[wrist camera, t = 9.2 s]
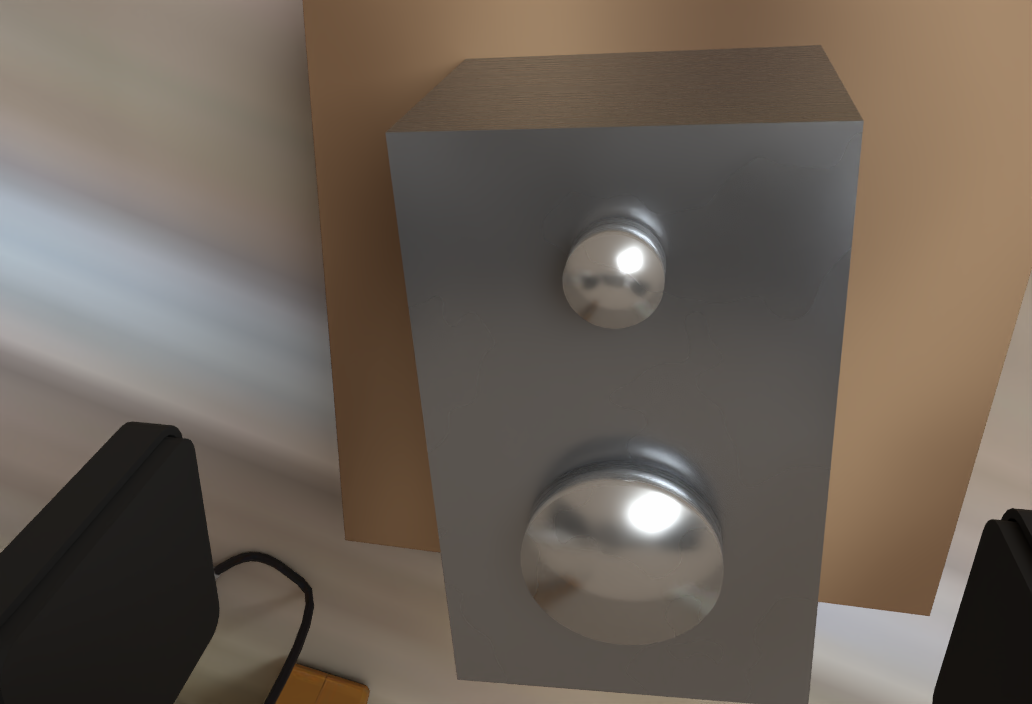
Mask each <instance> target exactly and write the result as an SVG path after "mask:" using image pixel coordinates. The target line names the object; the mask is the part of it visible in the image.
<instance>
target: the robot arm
mask: <svg viewBox="0 0 1032 704" xmlns="http://www.w3.org/2000/svg"><path fill="white" fill-rule="evenodd" d="M218 618H219V600H218V594H217V587H216V581H215V575H214V568H213V562H212V555H211V549H210V543H209V536H208V530H207V523H206V517H205V511H204V504H203V498H202V491H201V485H200V479H199V472H198V466H197V459H196V453H195V448H194V445H193V443H192V441H191V440H189V439H184V438H182V435H181V432H180V431H179V429H178V428H177V427H175V426H172V425H161V424H151V423H141V422H127V423H126V424H124V425H123V426H122V427H121V428H120V429H119V430H118V431H117V432H116V433H115V434H114V435H113V436H112V437H111V438H110V439H109V440H108V441H107V442H106V443H105V444H104V446H103V447H102V448H101V449H100V450H99V451H98V452H97V453H96V454H95V455H94V456H93V457H92V458H91V459H90V460H89V461H88V462H87V463H86V464H85V465H84V466H83V467H82V469H81V470H80V471H79V472H78V473H77V474H76V475H75V476H74V477H73V478H72V479H71V480H70V481H69V482H68V483H67V484H66V485H65V486H64V487H63V488H62V489H61V490H60V492H59V493H58V494H57V495H56V496H55V497H54V498H53V499H52V500H51V501H50V502H49V503H48V504H47V505H46V506H45V507H44V508H43V509H42V510H41V511H40V512H39V514H38V515H37V516H36V517H35V518H34V519H33V520H32V521H31V522H30V523H29V524H28V525H27V526H26V527H25V528H24V529H23V530H22V531H21V532H20V533H19V534H18V535H17V537H16V538H15V539H14V540H13V541H12V542H11V543H10V544H9V545H8V546H7V547H6V548H5V549H4V550H3V551H2V552H1V553H0V704H173V703H174V702H175V700H176V698H177V697H178V695H179V693H180V692H181V690H182V688H183V686H184V685H185V683H186V681H187V680H188V678H189V676H190V674H191V673H192V671H193V669H194V668H195V666H196V664H197V662H198V661H199V659H200V657H201V656H202V654H203V652H204V650H205V649H206V647H207V645H208V644H209V642H210V640H211V638H212V637H213V635H214V632H215V630H216V627H217V623H218ZM932 704H1032V510H1024V509H1014V508H1012V509H1009V510H1007V511H1006V513H1005V514H1004V515H1003V517H1002V519H1001V520H994V519H992V520H989V521H988V522H987V523H986V525H985V527H984V530H983V532H982V536H981V539H980V542H979V546H978V549H977V552H976V555H975V559H974V562H973V565H972V568H971V572H970V575H969V578H968V582H967V585H966V588H965V591H964V595H963V598H962V601H961V604H960V608H959V611H958V614H957V618H956V621H955V624H954V627H953V631H952V634H951V637H950V640H949V644H948V647H947V650H946V654H945V657H944V660H943V663H942V667H941V670H940V673H939V676H938V680H937V683H936V686H935V690H934V694H933V703H932Z"/></svg>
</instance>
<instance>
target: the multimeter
mask: <svg viewBox="0 0 1032 704" xmlns="http://www.w3.org/2000/svg"><path fill="white" fill-rule="evenodd" d="M249 561H258V562H261V563H265V564H267V565H269V566H271V567H274V568H275V569H277V570H278V571H280V572H281V573H283V574H284V575H285V576H287V577H288V578H289V579H291V580H292V581H293V582H294V583H296V584H297V585H298V586H299V587H300V588H301V590H302V591H303V592H304V593H305V602H306V605H305V610H304V615H303V620H302V624H301V626H300V629H299V632H298V634H297V637H296V640H295V642H294V645H293V647H292V649H291V651H290V653H289V656H288V658H287V660H286V662H285V664H284V666H283V668H282V670H281V672H280V674H279V676H278V678H277V680H276V682H275V684H274V686H273V688H272V689H271V691H270V693H269V695H268V697H267V699H266V701H265V703H264V704H367V701H368V697H369V693H370V690H369V689H368V687H367V686H366V685H362V684H359V683H356V682H353V681H350V680H347V679H343V678H340V677H337V676H334V675H331V674H328V673H325V672H321V671H318V670H315V669H312V668H309V667H306V666H302V665H299V664H296V661H297V659H298V656H299V654H300V652H301V650H302V647H303V645H304V642H305V639H306V636H307V633H308V631H309V628H310V625H311V620H312V615H313V609H314V601H313V594H312V588H311V587H310V586H309V584H308V583H307V582H306V581H305V579H304V578H303V577H301V576H300V575H299V574H297V573H296V572H294V571H293V570H292V569H290V568H289V567H288V566H286V565H285V564H284V563H282V562H281V561H279V560H278V559H276V558H273V557H271V556H269V555H266V554H262V553H256V552H249V553H243V554H240V555H237V556H234V557H232V558H230V559H228V560H226V561H225V562H223V563H221V564H220V565H218V566H216V567H213V568H214V575H215V580H216V579H217V578H218V577H219V576H220V574H221V573H223V572H225V571H226V570H228V569H230V568H231V567H233V566H235V565H238V564H240V563H243V562H249Z"/></svg>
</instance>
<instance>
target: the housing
mask: <svg viewBox="0 0 1032 704" xmlns="http://www.w3.org/2000/svg"><path fill="white" fill-rule="evenodd" d="M863 123H864V120H863V118H862V117H861V115H860V113H859V111H858V110H857V108H856V106H855V104H854V103H853V101H852V99H851V97H850V95H849V94H848V92H847V90H846V88H845V87H844V85H843V83H842V81H841V80H840V78H839V76H838V74H837V72H836V71H835V69H834V67H833V65H832V64H831V62H830V60H829V58H828V56H827V55H826V53H825V51H824V49H823V48H822V46H821V45H808V46H782V47H757V48H731V49H705V50H680V51H654V52H628V53H603V54H577V55H551V56H526V57H500V58H475V59H465V60H464V61H463V62H462V63H461V64H459V65H458V66H457V67H456V68H455V69H454V70H453V71H452V72H451V73H450V74H449V75H448V76H446V77H445V78H444V79H443V80H442V81H441V82H440V83H439V84H438V85H437V86H436V87H434V88H433V89H432V90H431V91H430V92H429V93H428V94H427V95H426V96H425V97H424V98H423V99H421V100H420V101H419V102H418V103H417V104H416V105H415V106H414V107H413V108H412V109H411V110H409V111H408V112H407V113H406V114H405V115H404V116H403V117H402V118H401V119H400V120H399V121H397V122H396V123H395V124H394V125H393V126H392V127H391V128H390V129H389V130H388V131H387V132H386V141H387V149H388V156H389V164H390V171H391V179H392V186H393V194H394V202H395V209H396V217H397V224H398V232H399V240H400V247H401V255H402V262H403V270H404V277H405V285H406V293H407V300H408V308H409V315H410V323H411V330H412V338H413V346H414V353H415V361H416V368H417V376H418V384H419V391H420V399H421V406H422V414H423V421H424V429H425V437H426V444H427V452H428V459H429V467H430V474H431V482H432V490H433V497H434V505H435V512H436V520H437V528H438V535H439V543H440V550H441V558H442V565H443V573H444V581H445V588H446V596H447V603H448V611H449V618H450V626H451V634H452V641H453V649H454V656H455V664H456V672H457V679H458V680H469V681H482V682H494V683H506V684H519V685H531V686H543V687H556V688H568V689H580V690H592V691H605V692H617V693H629V694H642V695H654V696H666V697H679V698H691V699H703V700H716V701H728V702H740V703H753V704H808V701H809V690H810V680H811V669H812V659H813V648H814V638H815V627H816V617H817V606H818V596H819V585H820V575H821V564H822V554H823V543H824V533H825V522H826V512H827V501H828V491H829V480H830V470H831V459H832V449H833V438H834V428H835V417H836V407H837V396H838V386H839V375H840V365H841V354H842V344H843V333H844V323H845V312H846V301H847V291H848V280H849V270H850V259H851V249H852V238H853V228H854V217H855V207H856V196H857V186H858V175H859V165H860V154H861V144H862V133H863Z"/></svg>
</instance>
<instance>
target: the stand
mask: <svg viewBox="0 0 1032 704" xmlns="http://www.w3.org/2000/svg"><path fill="white" fill-rule="evenodd" d="M303 12H304V25H305V38H306V50H307V63H308V75H309V88H310V101H311V113H312V126H313V138H314V151H315V164H316V176H317V189H318V202H319V214H320V227H321V239H322V252H323V265H324V277H325V290H326V303H327V315H328V328H329V340H330V353H331V366H332V378H333V391H334V403H335V416H336V429H337V441H338V454H339V467H340V479H341V492H342V504H343V517H344V530H345V540H348V541H356V542H364V543H371V544H379V545H387V546H394V547H402V548H410V549H417V550H425V551H433V552H441V550H440V543H439V535H438V528H437V520H436V512H435V505H434V497H433V490H432V482H431V474H430V467H429V459H428V452H427V444H426V437H425V429H424V421H423V414H422V406H421V399H420V391H419V384H418V376H417V368H416V361H415V353H414V346H413V338H412V330H411V323H410V315H409V308H408V300H407V293H406V285H405V277H404V270H403V262H402V255H401V247H400V240H399V232H398V224H397V217H396V209H395V202H394V194H393V186H392V179H391V171H390V164H389V156H388V149H387V141H386V132H387V131H388V130H389V129H390V128H391V127H392V126H393V125H394V124H395V123H396V122H397V121H399V120H400V119H401V118H402V117H403V116H404V115H405V114H406V113H407V112H408V111H409V110H411V109H412V108H413V107H414V106H415V105H416V104H417V103H418V102H419V101H420V100H421V99H423V98H424V97H425V96H426V95H427V94H428V93H429V92H430V91H431V90H432V89H433V88H434V87H436V86H437V85H438V84H439V83H440V82H441V81H442V80H443V79H444V78H445V77H446V76H448V75H449V74H450V73H451V72H452V71H453V70H454V69H455V68H456V67H457V66H458V65H459V64H461V63H462V62H463V61H464V60H465V59H475V58H500V57H526V56H551V55H577V54H603V53H628V52H654V51H680V50H705V49H731V48H757V47H782V46H808V45H821V46H822V48H823V49H824V51H825V53H826V55H827V56H828V58H829V60H830V62H831V64H832V65H833V67H834V69H835V71H836V72H837V74H838V76H839V78H840V80H841V81H842V83H843V85H844V87H845V88H846V90H847V92H848V94H849V95H850V97H851V99H852V101H853V103H854V104H855V106H856V108H857V110H858V111H859V113H860V115H861V117H862V118H863V120H864V123H863V133H862V144H861V154H860V165H859V175H858V186H857V196H856V207H855V217H854V228H853V238H852V249H851V259H850V270H849V280H848V291H847V301H846V312H845V323H844V333H843V344H842V354H841V365H840V375H839V386H838V396H837V407H836V417H835V428H834V438H833V449H832V459H831V470H830V480H829V491H828V501H827V512H826V522H825V533H824V543H823V554H822V564H821V575H820V585H819V596H818V602H825V603H833V604H840V605H848V606H856V607H863V608H871V609H879V610H886V611H894V612H902V613H910V614H917V615H925V616H930V613H931V609H932V606H933V603H934V599H935V596H936V592H937V589H938V586H939V582H940V579H941V575H942V572H943V569H944V565H945V562H946V558H947V555H948V552H949V548H950V545H951V541H952V538H953V535H954V531H955V528H956V524H957V521H958V518H959V514H960V511H961V507H962V504H963V501H964V497H965V494H966V490H967V487H968V484H969V480H970V477H971V473H972V470H973V467H974V463H975V460H976V456H977V453H978V450H979V446H980V443H981V439H982V436H983V433H984V429H985V426H986V422H987V419H988V416H989V412H990V409H991V405H992V402H993V399H994V395H995V392H996V388H997V385H998V382H999V378H1000V375H1001V371H1002V368H1003V365H1004V361H1005V358H1006V354H1007V351H1008V348H1009V344H1010V341H1011V337H1012V334H1013V331H1014V327H1015V324H1016V320H1017V317H1018V314H1019V310H1020V307H1021V303H1022V300H1023V297H1024V293H1025V290H1026V286H1027V283H1028V280H1029V276H1030V273H1031V269H1032V0H303Z"/></svg>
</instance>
